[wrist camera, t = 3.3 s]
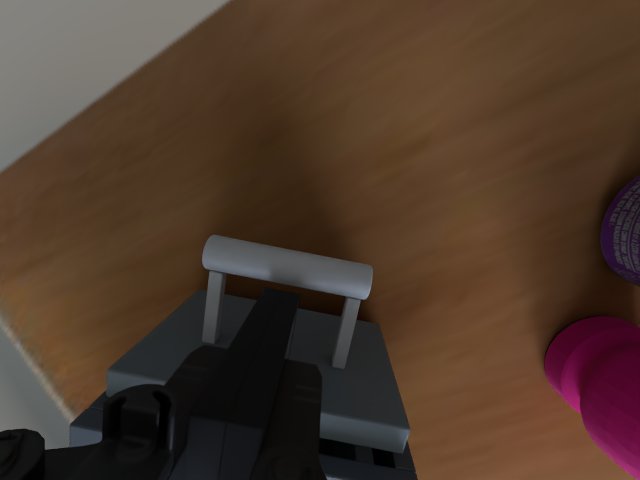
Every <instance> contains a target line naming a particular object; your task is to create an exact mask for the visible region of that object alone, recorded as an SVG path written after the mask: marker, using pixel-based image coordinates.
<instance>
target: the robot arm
mask: <svg viewBox="0 0 640 480" xmlns="http://www.w3.org/2000/svg"><path fill="white" fill-rule="evenodd" d="M300 296H301V295H300V294H295V293H290V292H285V291H280V290H275V289H270V288H264V290H263V291H262V293H261V294H260V296H259V298H258V299H257V301H256V303H255V304H254V306H253V308H252V309H251V311H250V313H249V314H248V316H247V318H246V319H245V321H244V323H243V324H242V326H241V328H240V329H239V331H238V333H237V334H236V336H235V338H234V339H233V341H232V343H231V344H230V346H229V348H222V347H217V346H212V345H207V344H204V345H202V346H200V347H199V348H197V349H195V350H194V351H192V352H190V353H189V355H188V356H187V357H186V358H185V360H184V361H183V362H182V363H181V366H180V367H178V368H177V370H176V371H175V372H174V373H173V375H172V377H170V378H169V380H168V381H167V382H166V383H165V385H164V386H163V385H160V384H142V385H137V386H132V387H129V388H126V389H124V390H122V391H120V392H117V393H115V394H114V395H113V396H111V397H110V398H109V399H107V400H106V401H105V402H103V424H102V440H101V441H100V442H99V443H96V444H90V445H85V446H78V447H68V448H59V449H49V450H45V440H44V438H43V437H42V436H41V435H40V434H39V433H38V432H36V431H32V430H28V429H15V430H5V431H2V432H0V480H328V479H327V477H326V476H325V474H324V472H323V470H322V467H321V464H320V461H319V438H320V418H321V399H322V379H323V377H322V375H321V373H320V371H319V369H318V367H317V365H316V364H311V363H306V362H300V361H295V360H290V359H288V358H289V354H290V349H291V343H292V338H293V333H294V327H295V322H296V317H297V311H298V306H299V301H300Z"/></svg>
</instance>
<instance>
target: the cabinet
mask: <svg viewBox="0 0 640 480" xmlns="http://www.w3.org/2000/svg"><path fill="white" fill-rule="evenodd" d="M109 398H110V397H108V396H107V395H106V391H105V392H104V393H103V394H102V395H101V396H100V397H98V398H97V399H96V400H95V401H94V402H93V403H92V404H91V405H90V406H89V408H88V409H86V410H85V411H84V412H82V413H81V414H80V415H79V416H78V417H77V418H76V419H75V420H74V421H73V422H72V423H71V424H70V447H78V446H85V445H90V444H96V443H99V442H100V441H101V440H102V424H103V402H105V401H106V400H107V399H109ZM372 452H373V459H374V464H371V463H365V462H360V461H355V460H350V459H345V458H340V457H335V456H330V455H324V454H319V461H320V464H321V467H322V470H323V472H324V474H325V476H326V477H327V479H328V480H418V479H417V475H416V473H415V472H416V471H415V467H414V463H413V460H412V456H411V452H410V449H409V445H408V441H407V442H406V445H405V448H404V451H403V453H395V452H390V451H385V450H380V449H375V448H372Z"/></svg>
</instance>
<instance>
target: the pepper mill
mask: <svg viewBox="0 0 640 480" xmlns="http://www.w3.org/2000/svg"><path fill="white" fill-rule="evenodd" d="M545 372H546V376H547V379H548V381H549V383H550V385H551V386H552V387H553V389H554V390H555V391H556V392H557V393H558V394H559V395H560V396H561V397H562V398H564V399H565V400H566V401H567V402H568V403H569V404H570V405H571V406H572V407H573V408H574V409H575V410H576V411H577V412H579V413H581V414H582V419H583V423H584V425H585V428H586V430H587V431H588V433H589V435H590V437H591V438H592V439H593V440H594V442H595V443H596V444H597V446H599V447H600V448H601V449H602V450H603V451H604V452H605V453H606V454H607V455H608V456H609V457H610V458H611V459H612V460H614V461H615V462H616V463H617V464H618V465H619V466H620V467H621V468H622V469H623V470H625V471H626V472H628V473H629V474H630V475H632V476H633V477H635V478H636V479H638V480H640V327H638V326H636V325H634V324H632V323H630V322H628V321H626V320H622V319H619V318H616V317H607V316H597V317H592V318H587V319H583V320H581V321H578V322H576V323H573V324H571V325H570V326H568V327H567V328H566V329H564V330H563V331H562V332H560V333H559V334H558V335H557V336H556V338H555V339H554V340H553V341H552V343H551V344H550V346H549V348H548V351H547V353H546V356H545Z"/></svg>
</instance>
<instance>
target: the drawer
mask: <svg viewBox="0 0 640 480" xmlns="http://www.w3.org/2000/svg"><path fill="white" fill-rule="evenodd" d="M202 263H203V267H204V268H206V269H209V270H210V272H209V280H208V289H207V291H206V290H201V289H199V290H198V291H197V292H196V293H194V294H193V295H192V296H191V297H190V298H189V299H188V300H186V301H185V302H184V303H183V304H182V305H181V306H180V307H178V308H177V309H176V310H175V311H174V312H173V313H172V314H170V315H169V316H168V317H167V318H166V319H165V320H164V321H162V322H161V323H160V324H159V325H158V326H157V327H156V328H154V329H153V330H152V331H151V332H150V333H149V334H148V335H146V336H145V337H144V338H143V339H142V340H141V341H139V342H138V343H137V344H136V345H135V346H134V347H133V348H131V349H130V350H129V351H128V352H127V353H126V354H125V355H123V356H122V357H121V358H120V359H119V360H118V361H117V362H115V363H114V364H113V365H112V366H111V367H110V368H109V369H108V370H107V385H106V395H107V396H108V397H111V396H113V395H114V394H115V393H117V392H120V391H122V390H124V389H126V388H129V387H132V386H137V385H142V384H160V385H163V386H164V385H165V383H166V382H167V381H168V380H169V378H170V377H172V375H173V373H174V372H175V371H176V370H177V368H178V367H180V366H181V363H182V362H183V361H184V360H185V358H186V357H187V356H188V355H189V353H190V352H192V351H194V350H195V349H197V348H199V347H200V346H202V345H204V344H207V345H212V346H217V347H222V348H229V346H230V344H231V343H232V341H233V339H234V338H235V336H236V334H237V333H238V331H239V329H240V328H241V326H242V324H243V323H244V321H245V319H246V318H247V316H248V314H249V313H250V311H251V309H252V308H253V306H254V304H255V303H256V301H257V300H253V299H248V298H242V297H237V296H232V295H227V294H224V292H225V284H226V276H227V273H230V274H235V275H240V276H245V277H250V278H255V279H260V280H265V281H271V282H276V283H281V284H286V285H291V286H296V287H301V288H306V289H312V290H317V291H322V292H327V293H332V294H337V295H342V296H346V298H345V303H344V307H343V311H342V316H341V317H340V316H335V315H330V314H324V313H319V312H314V311H309V310H304V309H299V308H298V311H297V317H296V322H295V327H294V333H293V338H292V343H291V349H290V354H289V358H288V359H290V360H295V361H300V362H306V363H311V364H316V365H317V367H318V369H319V371H320V373H321V375H322V377H323V379H322V399H321V418H320V438H319V454H324V455H330V456H335V457H340V458H345V459H350V460H355V461H360V462H365V463H371V464H374V459H373V452H372V448H375V449H380V450H385V451H390V452H395V453H403V451H404V448H405V445H406V442H407V438H408V435H409V432H410V426H409V423H408V419H407V416H406V413H405V409H404V406H403V403H402V399H401V396H400V393H399V389H398V386H397V383H396V380H395V376H394V373H393V370H392V366H391V363H390V360H389V356H388V353H387V350H386V346H385V343H384V340H383V336H382V333H381V330H380V326H379V324H376V323H371V322H365V321H360V320H356V318H357V314H358V310H359V306H360V302H361V301H360V299H363V300H365V299H367V297H368V295H369V293H370V289H371V285H372V278H373V269H372V266H371V265H367V264H362V263H357V262H352V261H346V260H341V259H336V258H331V257H326V256H321V255H316V254H311V253H305V252H300V251H295V250H290V249H285V248H280V247H275V246H269V245H264V244H259V243H254V242H249V241H244V240H239V239H234V238H228V237H223V236H218V235H211V236H210V237H209V238H208V240H207V242H206V244H205V247H204V250H203V256H202Z"/></svg>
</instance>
